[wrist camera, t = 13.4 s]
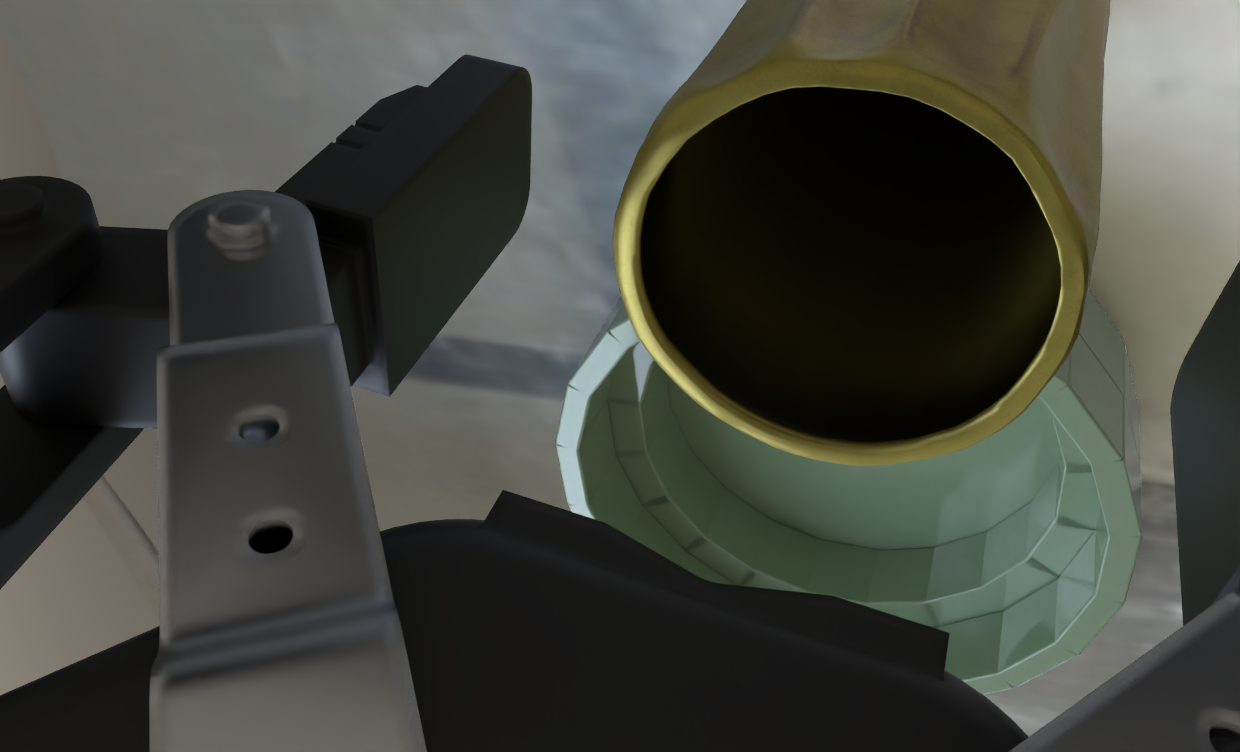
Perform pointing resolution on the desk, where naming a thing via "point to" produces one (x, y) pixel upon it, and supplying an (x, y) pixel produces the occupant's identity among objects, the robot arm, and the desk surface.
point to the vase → (871, 220)
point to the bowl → (883, 505)
